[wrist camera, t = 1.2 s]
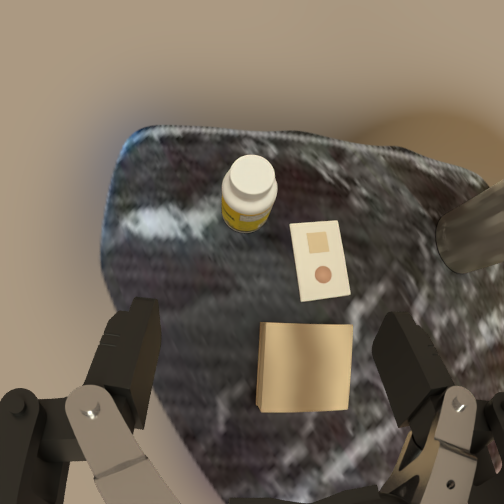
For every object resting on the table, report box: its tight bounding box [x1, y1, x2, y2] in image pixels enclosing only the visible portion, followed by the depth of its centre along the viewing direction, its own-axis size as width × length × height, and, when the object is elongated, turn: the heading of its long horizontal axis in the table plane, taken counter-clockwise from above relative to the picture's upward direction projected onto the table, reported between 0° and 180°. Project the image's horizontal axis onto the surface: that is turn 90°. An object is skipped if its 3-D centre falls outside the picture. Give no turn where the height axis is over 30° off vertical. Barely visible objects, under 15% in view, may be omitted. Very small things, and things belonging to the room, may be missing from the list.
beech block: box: [256, 322, 353, 412], centre depth 31 cm, size 9×9×4 cm
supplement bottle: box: [222, 155, 277, 233], centre depth 32 cm, size 5×5×10 cm
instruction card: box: [289, 220, 351, 302], centre depth 36 cm, size 6×9×1 cm, turn 7°
